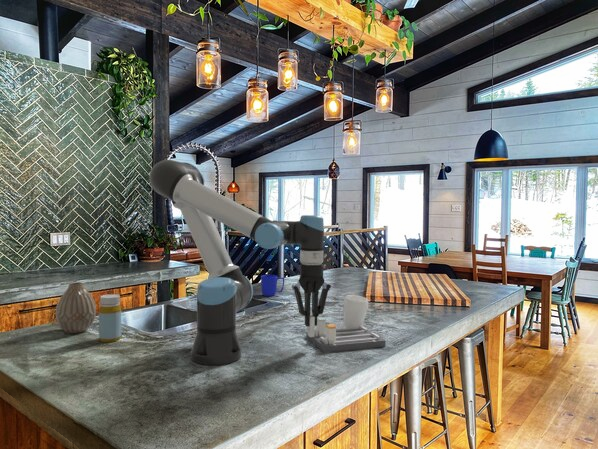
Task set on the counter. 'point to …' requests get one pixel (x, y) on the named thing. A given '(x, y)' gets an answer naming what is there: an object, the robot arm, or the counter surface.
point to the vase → (75, 309)
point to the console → (348, 340)
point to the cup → (354, 311)
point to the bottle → (110, 318)
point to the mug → (270, 284)
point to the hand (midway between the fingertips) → (310, 335)
